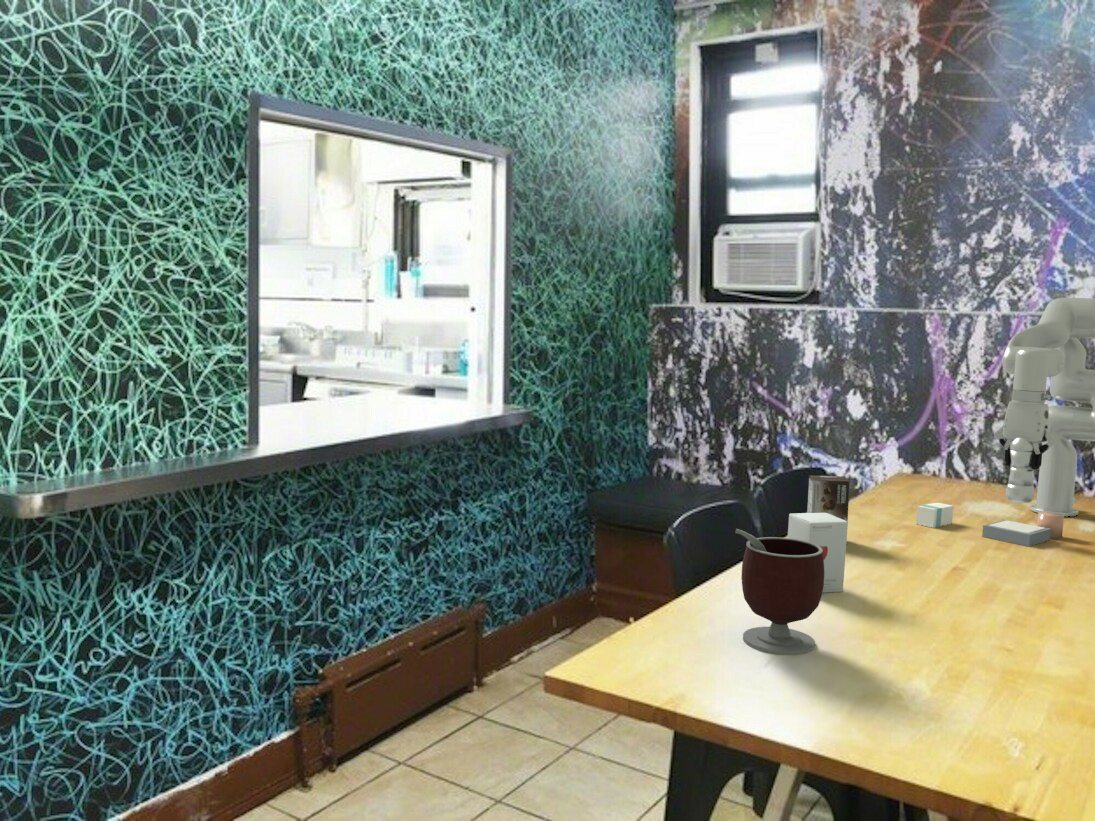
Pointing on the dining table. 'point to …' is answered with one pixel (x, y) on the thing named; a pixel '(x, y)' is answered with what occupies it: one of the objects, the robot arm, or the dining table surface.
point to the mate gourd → (781, 590)
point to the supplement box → (823, 543)
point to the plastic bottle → (1021, 472)
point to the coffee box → (829, 495)
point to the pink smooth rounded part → (1052, 523)
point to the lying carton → (934, 514)
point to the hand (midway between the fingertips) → (1022, 466)
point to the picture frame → (1016, 532)
